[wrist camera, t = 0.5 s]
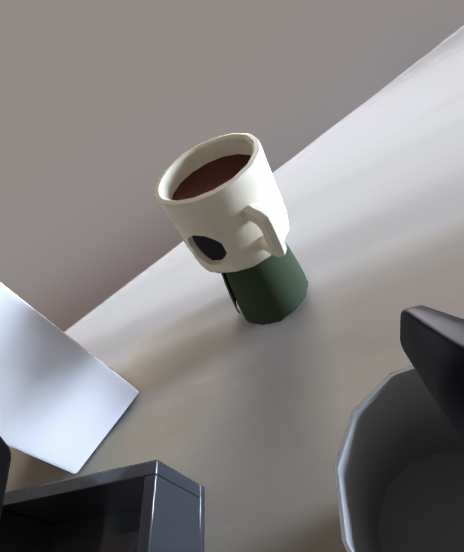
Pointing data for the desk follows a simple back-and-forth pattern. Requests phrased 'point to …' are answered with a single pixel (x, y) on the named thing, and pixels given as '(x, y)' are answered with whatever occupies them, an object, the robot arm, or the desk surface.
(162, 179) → the character mug
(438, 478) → the cup
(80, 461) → the milk carton
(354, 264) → the desk surface
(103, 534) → the dark grey open box
